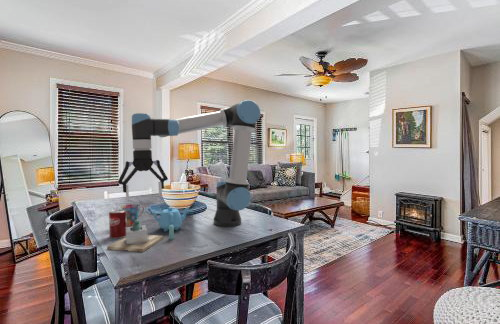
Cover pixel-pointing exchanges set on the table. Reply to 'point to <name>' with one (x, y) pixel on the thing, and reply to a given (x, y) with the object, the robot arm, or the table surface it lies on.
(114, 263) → the table surface
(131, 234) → the white square bowl
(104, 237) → the table surface
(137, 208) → the mug
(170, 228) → the stand rod
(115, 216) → the soda can
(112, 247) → the peg stand
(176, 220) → the teapot
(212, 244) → the table surface
